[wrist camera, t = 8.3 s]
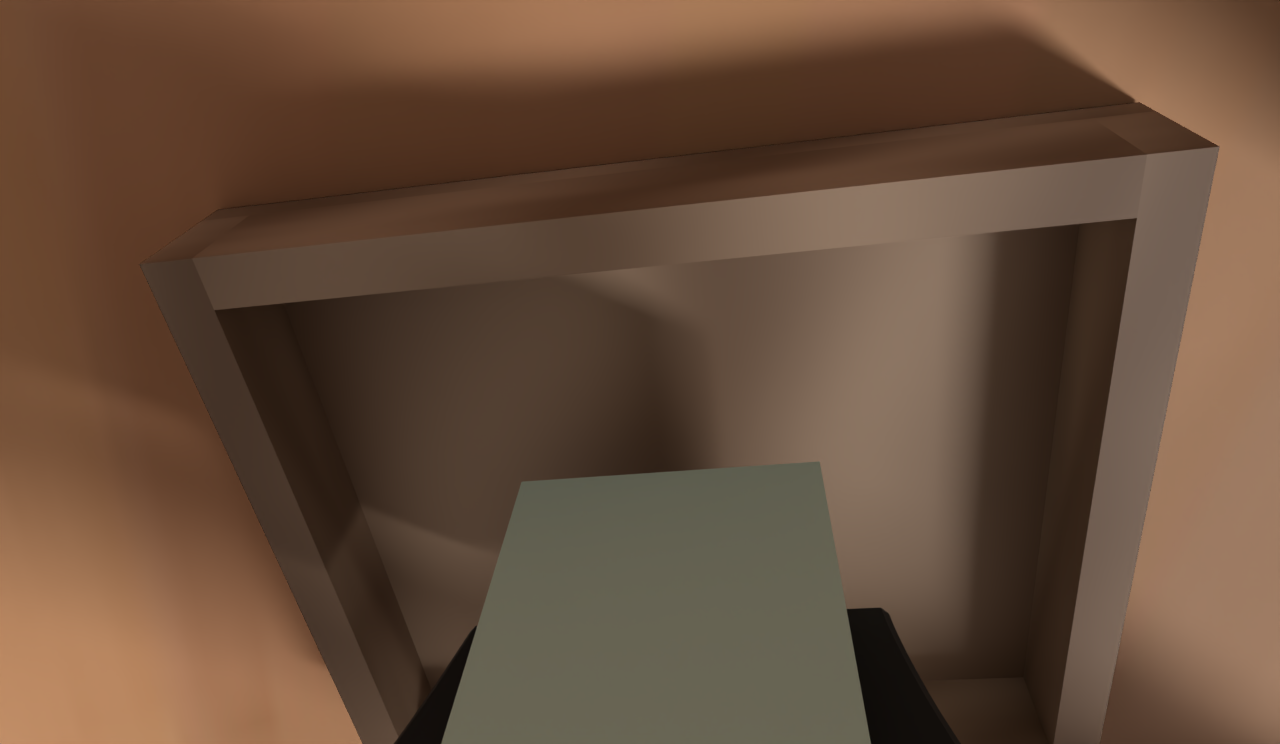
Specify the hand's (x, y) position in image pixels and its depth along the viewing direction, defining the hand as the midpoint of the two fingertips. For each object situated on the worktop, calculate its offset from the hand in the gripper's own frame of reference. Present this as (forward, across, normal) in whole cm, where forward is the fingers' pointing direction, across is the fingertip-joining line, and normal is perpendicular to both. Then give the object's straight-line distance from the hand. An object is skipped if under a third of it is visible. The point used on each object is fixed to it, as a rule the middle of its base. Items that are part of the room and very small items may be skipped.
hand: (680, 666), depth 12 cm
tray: (+4, 0, 0) cm, 4 cm away
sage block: (+2, 0, 0) cm, 2 cm away
